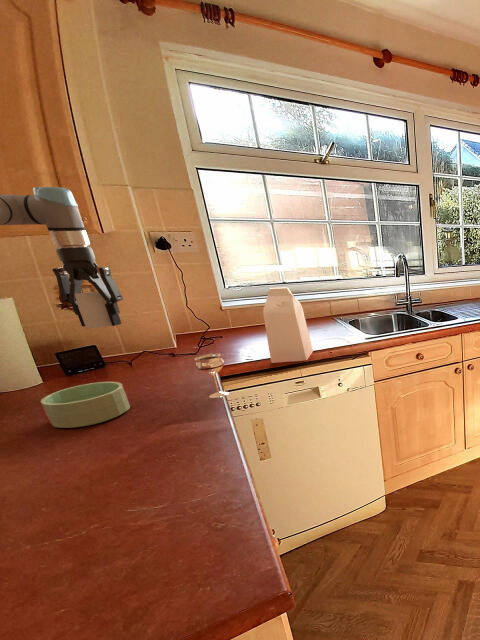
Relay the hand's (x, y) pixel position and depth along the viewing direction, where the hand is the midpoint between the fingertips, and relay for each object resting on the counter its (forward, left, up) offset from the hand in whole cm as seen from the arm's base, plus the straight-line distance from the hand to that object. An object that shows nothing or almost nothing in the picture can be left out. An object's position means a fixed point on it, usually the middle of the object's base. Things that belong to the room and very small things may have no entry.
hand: (102, 324), depth 129 cm
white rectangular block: (0, 0, 0) cm, 0 cm away
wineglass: (+36, -13, -20) cm, 43 cm away
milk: (+44, +23, -20) cm, 53 cm away
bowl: (+10, -25, -19) cm, 33 cm away
